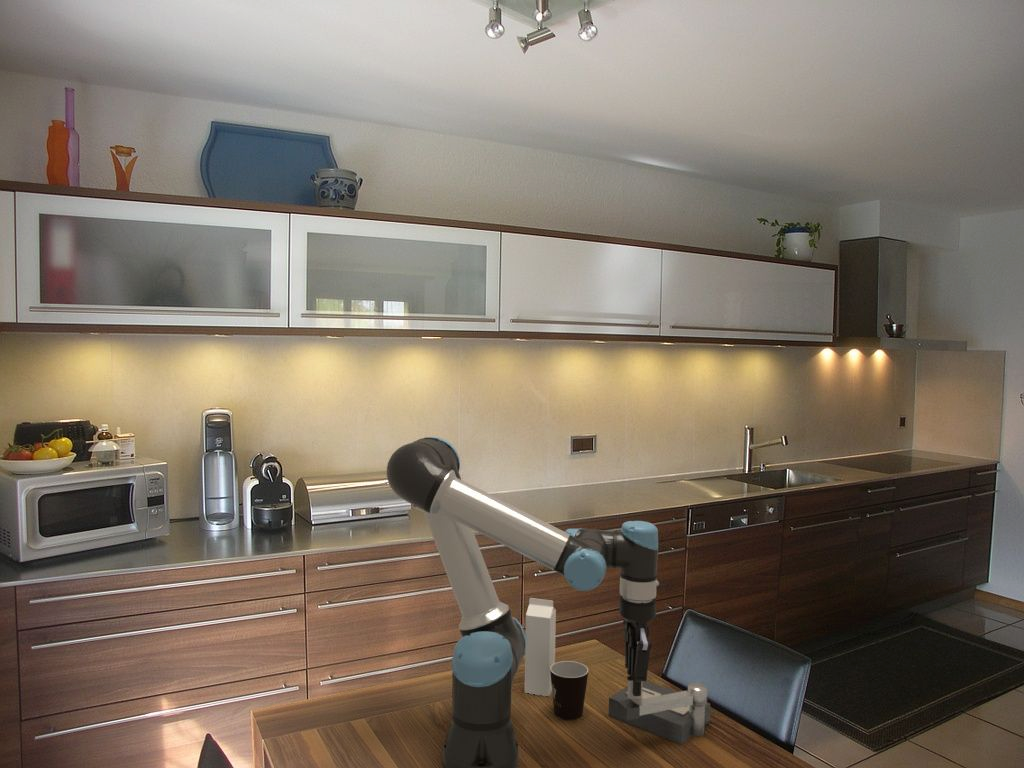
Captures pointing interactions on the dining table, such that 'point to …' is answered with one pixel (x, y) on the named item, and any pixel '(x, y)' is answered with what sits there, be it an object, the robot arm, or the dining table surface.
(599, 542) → the robot arm
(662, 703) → the lever
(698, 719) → the grey slotted block
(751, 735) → the dining table surface
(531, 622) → the milk
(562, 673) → the coffee mug
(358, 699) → the dining table surface
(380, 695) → the dining table surface
